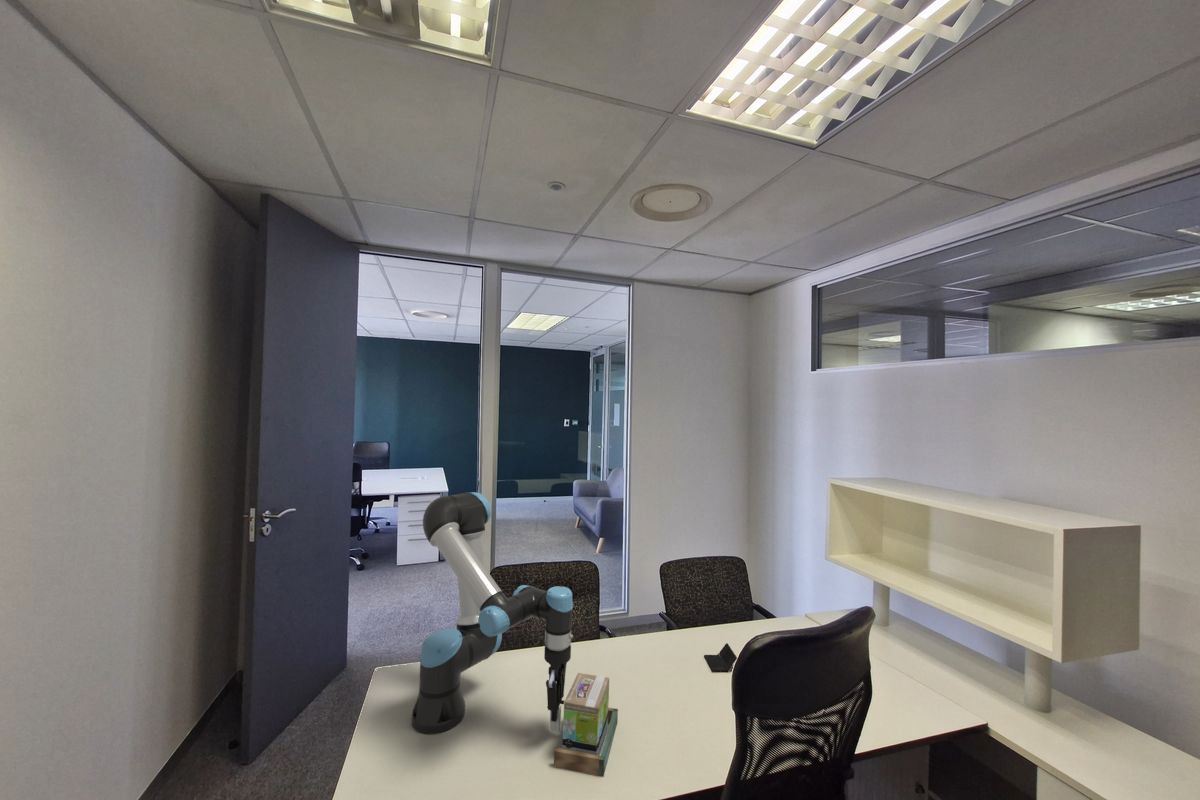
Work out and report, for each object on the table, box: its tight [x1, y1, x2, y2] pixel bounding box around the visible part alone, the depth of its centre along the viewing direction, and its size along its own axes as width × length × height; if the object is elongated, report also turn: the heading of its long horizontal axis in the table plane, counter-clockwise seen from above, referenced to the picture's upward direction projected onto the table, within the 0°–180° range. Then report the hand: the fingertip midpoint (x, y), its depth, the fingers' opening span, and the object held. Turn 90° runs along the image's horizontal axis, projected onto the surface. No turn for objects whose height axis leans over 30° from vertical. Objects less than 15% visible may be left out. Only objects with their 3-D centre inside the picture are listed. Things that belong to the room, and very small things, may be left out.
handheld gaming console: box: [703, 642, 738, 674], centre depth 165 cm, size 12×7×10 cm
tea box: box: [561, 672, 610, 756], centre depth 124 cm, size 15×10×15 cm, turn 168°
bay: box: [553, 707, 619, 777], centre depth 123 cm, size 13×21×4 cm, turn 168°
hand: (554, 729), depth 125 cm, fingers closed
